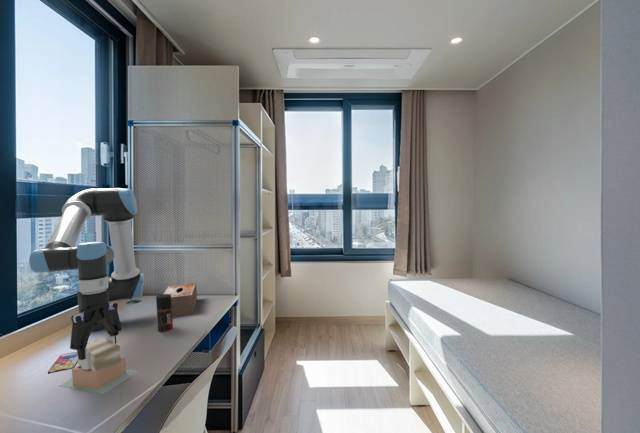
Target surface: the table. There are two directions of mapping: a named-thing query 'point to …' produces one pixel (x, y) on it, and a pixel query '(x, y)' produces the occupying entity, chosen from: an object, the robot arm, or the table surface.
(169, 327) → the deodorant
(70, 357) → the smartphone
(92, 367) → the beige block
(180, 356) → the table surface
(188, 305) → the tissue box cover
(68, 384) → the felt mat
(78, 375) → the peach open-top box
